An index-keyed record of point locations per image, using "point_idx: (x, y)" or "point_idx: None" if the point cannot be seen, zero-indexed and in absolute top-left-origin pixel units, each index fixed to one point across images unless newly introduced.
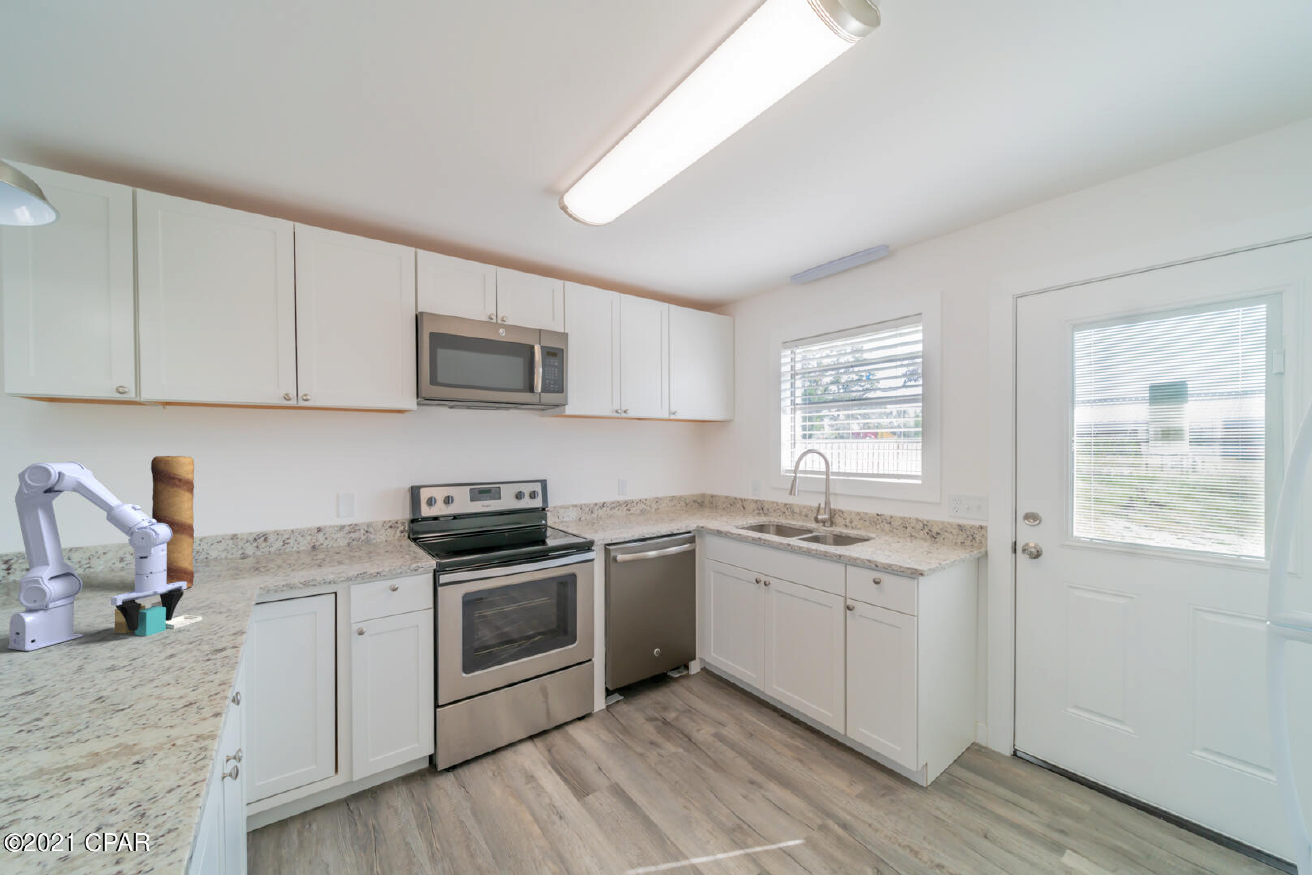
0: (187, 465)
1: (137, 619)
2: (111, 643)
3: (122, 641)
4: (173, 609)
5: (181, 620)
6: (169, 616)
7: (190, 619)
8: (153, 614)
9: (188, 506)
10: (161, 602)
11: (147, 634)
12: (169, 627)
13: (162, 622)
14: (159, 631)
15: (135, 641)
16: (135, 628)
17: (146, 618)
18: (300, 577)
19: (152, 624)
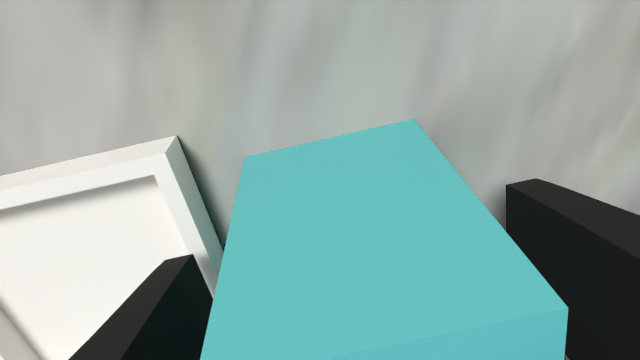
0: None
1: (621, 238)
2: (631, 165)
3: (575, 141)
4: (87, 357)
5: (78, 332)
6: (171, 281)
7: (8, 302)
8: (405, 275)
9: None
10: None
11: (407, 125)
12: (200, 201)
13: (270, 197)
14: (299, 148)
15: (550, 9)
16: (543, 184)
17: (498, 227)
18: None
19: (383, 178)
